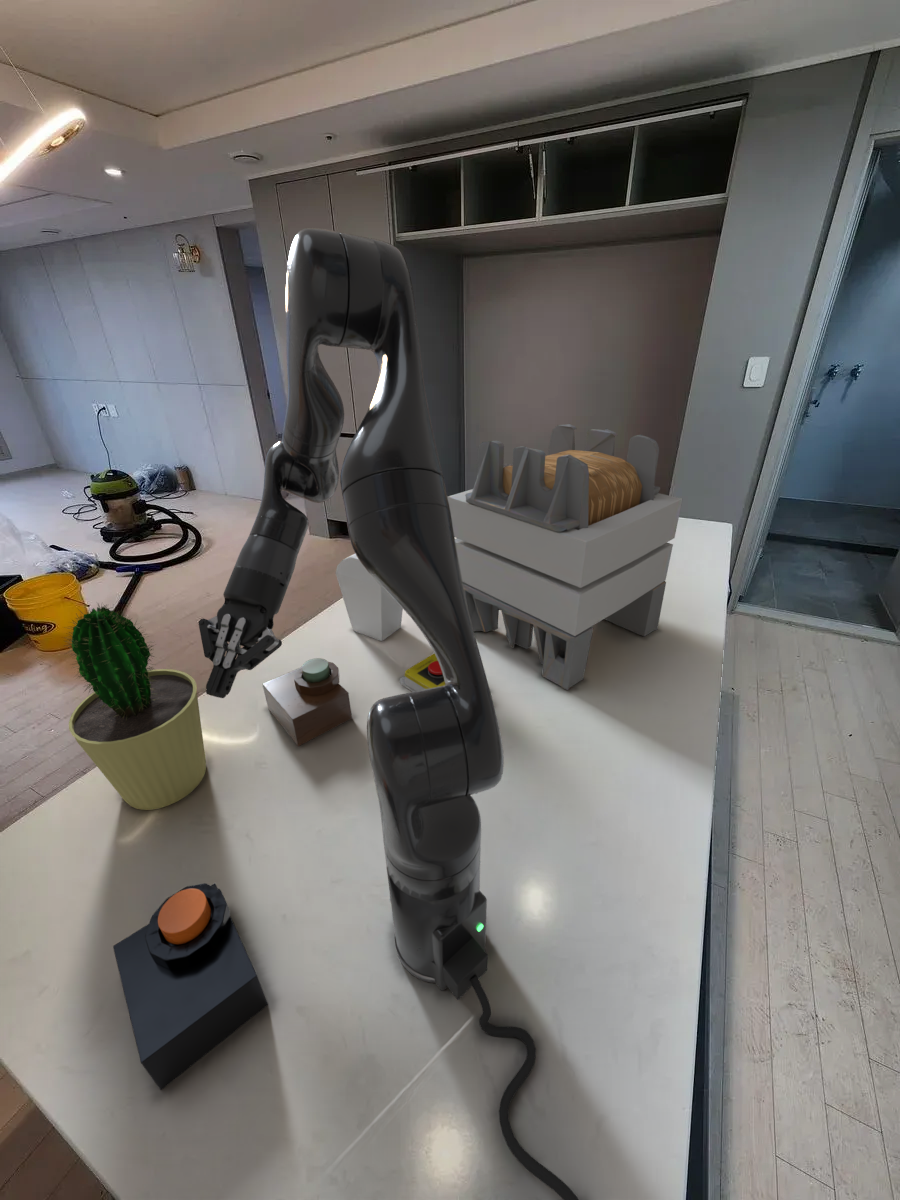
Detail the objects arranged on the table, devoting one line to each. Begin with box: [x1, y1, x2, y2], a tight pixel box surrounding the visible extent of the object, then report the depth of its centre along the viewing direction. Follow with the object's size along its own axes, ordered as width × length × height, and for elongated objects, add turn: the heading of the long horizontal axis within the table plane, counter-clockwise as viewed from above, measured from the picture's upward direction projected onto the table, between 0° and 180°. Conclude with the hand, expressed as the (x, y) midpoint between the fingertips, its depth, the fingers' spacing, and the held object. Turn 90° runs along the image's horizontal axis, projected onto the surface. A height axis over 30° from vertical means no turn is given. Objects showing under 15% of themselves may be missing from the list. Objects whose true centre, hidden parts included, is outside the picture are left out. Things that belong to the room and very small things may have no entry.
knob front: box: [158, 888, 211, 945], centre depth 51 cm, size 4×4×2 cm
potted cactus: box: [60, 602, 207, 811], centre depth 69 cm, size 15×15×30 cm
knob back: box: [301, 657, 330, 683], centre depth 86 cm, size 4×4×2 cm
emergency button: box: [399, 652, 445, 692], centre depth 93 cm, size 9×4×15 cm
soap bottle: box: [335, 553, 404, 642], centre depth 107 cm, size 12×10×26 cm
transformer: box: [447, 423, 683, 691], centre depth 103 cm, size 34×33×41 cm
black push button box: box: [112, 882, 269, 1091], centre depth 50 cm, size 12×10×8 cm
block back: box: [262, 661, 353, 747], centre depth 87 cm, size 12×11×8 cm
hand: (215, 696), depth 67 cm, fingers closed
